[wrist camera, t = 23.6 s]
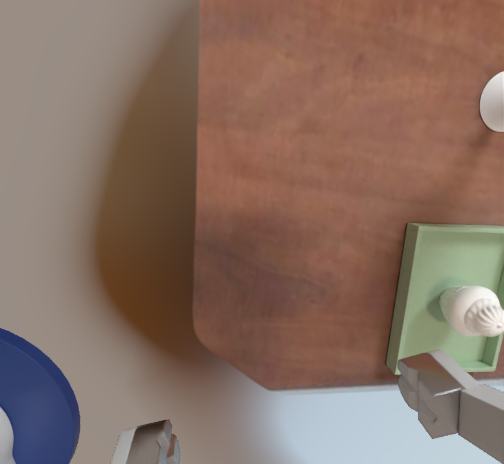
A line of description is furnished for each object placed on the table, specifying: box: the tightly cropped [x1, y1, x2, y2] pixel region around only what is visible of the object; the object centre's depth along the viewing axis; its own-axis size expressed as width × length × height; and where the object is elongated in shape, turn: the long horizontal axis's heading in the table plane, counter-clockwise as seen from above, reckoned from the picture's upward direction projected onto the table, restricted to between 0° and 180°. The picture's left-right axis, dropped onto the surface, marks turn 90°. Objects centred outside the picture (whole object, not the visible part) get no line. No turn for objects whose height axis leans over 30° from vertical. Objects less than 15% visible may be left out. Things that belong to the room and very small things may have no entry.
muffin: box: [439, 285, 504, 337], centre depth 34 cm, size 6×6×7 cm
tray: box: [386, 223, 504, 375], centre depth 37 cm, size 19×14×2 cm
